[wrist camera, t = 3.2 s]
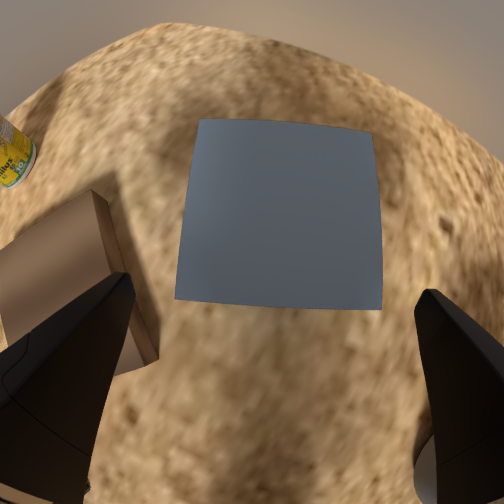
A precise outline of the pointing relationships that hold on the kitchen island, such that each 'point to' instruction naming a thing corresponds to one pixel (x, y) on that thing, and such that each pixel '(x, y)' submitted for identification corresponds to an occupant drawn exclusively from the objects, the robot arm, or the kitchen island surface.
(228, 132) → the slate block
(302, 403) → the kitchen island surface
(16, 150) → the supplement bottle
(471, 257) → the kitchen island surface
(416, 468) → the smart speaker
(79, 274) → the walnut block
